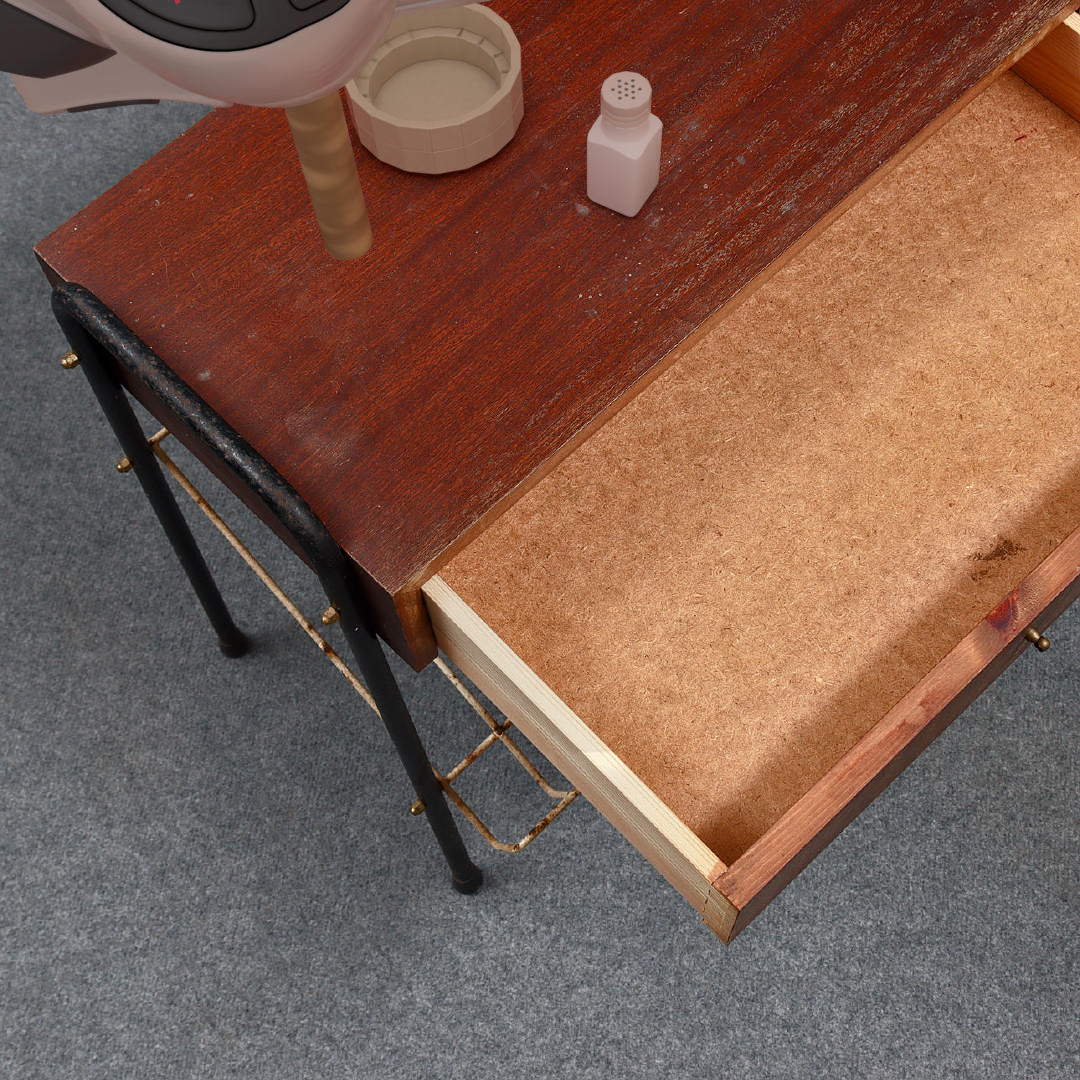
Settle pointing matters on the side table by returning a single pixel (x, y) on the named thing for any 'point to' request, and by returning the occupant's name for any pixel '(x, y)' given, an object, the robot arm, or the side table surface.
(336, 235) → the stirring stick
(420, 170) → the bowl
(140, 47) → the robot arm
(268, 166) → the side table surface
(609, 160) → the salt shaker
